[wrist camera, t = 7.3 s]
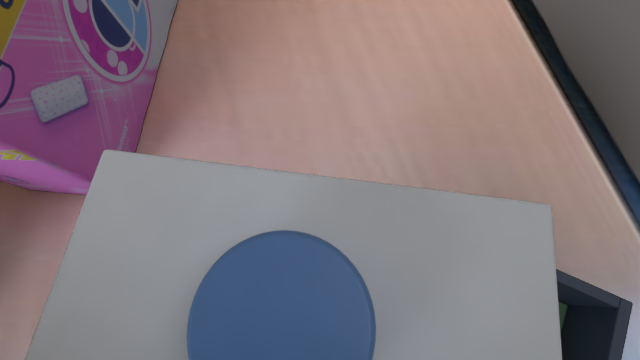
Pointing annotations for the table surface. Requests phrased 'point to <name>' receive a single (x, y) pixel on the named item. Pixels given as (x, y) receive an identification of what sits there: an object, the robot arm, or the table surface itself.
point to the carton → (296, 269)
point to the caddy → (590, 320)
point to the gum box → (74, 85)
